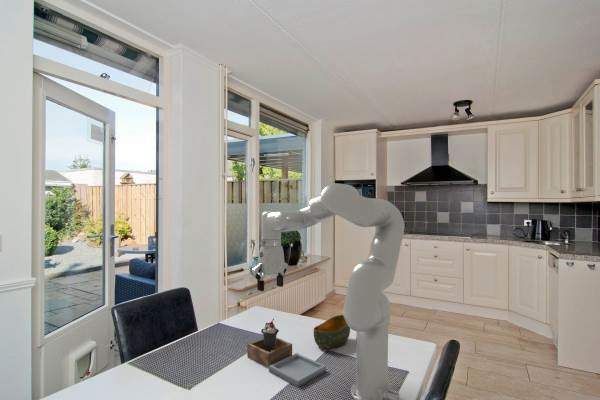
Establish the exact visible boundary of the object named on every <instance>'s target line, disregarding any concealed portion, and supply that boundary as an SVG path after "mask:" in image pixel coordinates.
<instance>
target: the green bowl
mask: <svg viewBox="0 0 600 400" xmlns="http://www.w3.org/2000/svg"><path fill="white" fill-rule="evenodd" d="M350 334H351V328H350V327H349V326H348V325H347V323H346V322H345V319H344V314H338V315H334V316H333V317H330V318H328V319H327V320H325V321H324V322H322V323H320V324H319V325H316V326H314V328H313V338H314V342H315V344H316V345H317V346H318V349H320V350H322V351H323V350H325V351H330V350H336V349H338V348H342V347H344V346H345V345H346V344H347V342H348V340H349V338H350Z"/></svg>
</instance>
